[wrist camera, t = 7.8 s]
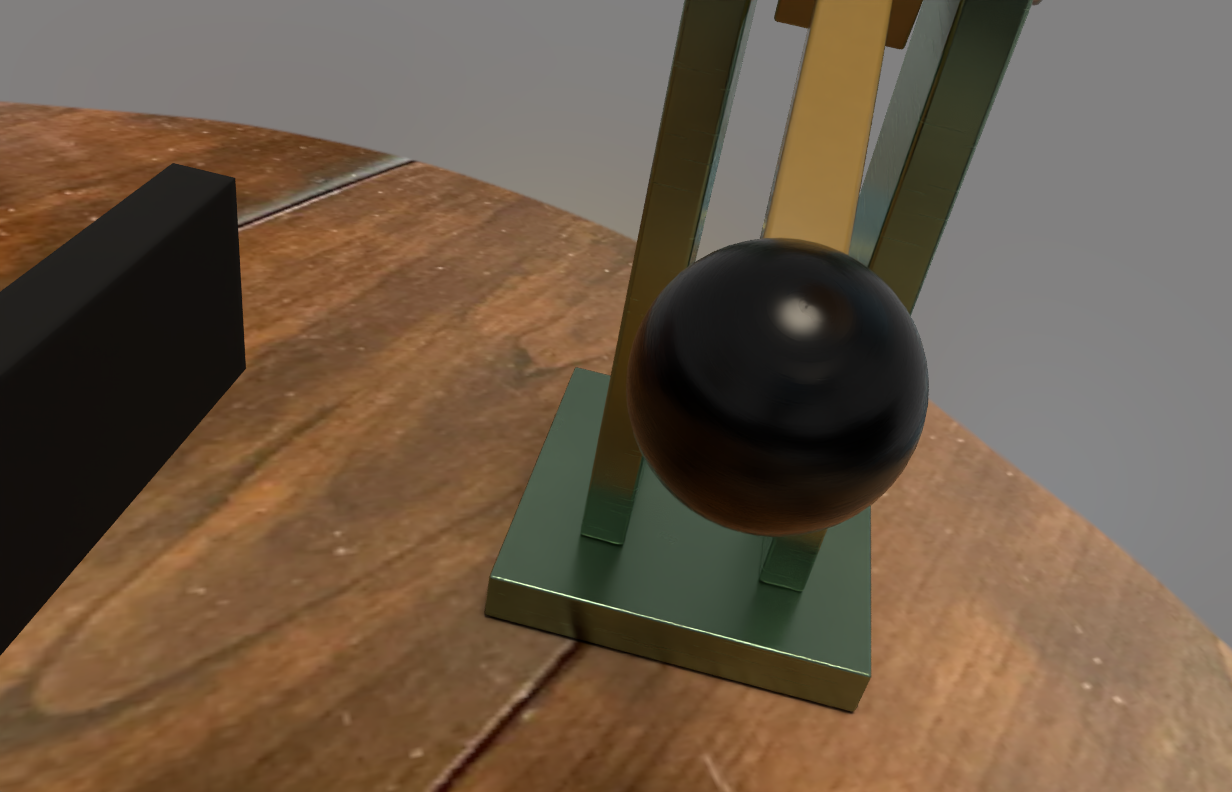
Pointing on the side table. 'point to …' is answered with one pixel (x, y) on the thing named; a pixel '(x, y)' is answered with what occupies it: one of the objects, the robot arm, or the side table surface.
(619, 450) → the switch bracket
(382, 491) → the side table surface
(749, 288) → the switch lever
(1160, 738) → the side table surface
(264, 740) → the side table surface
